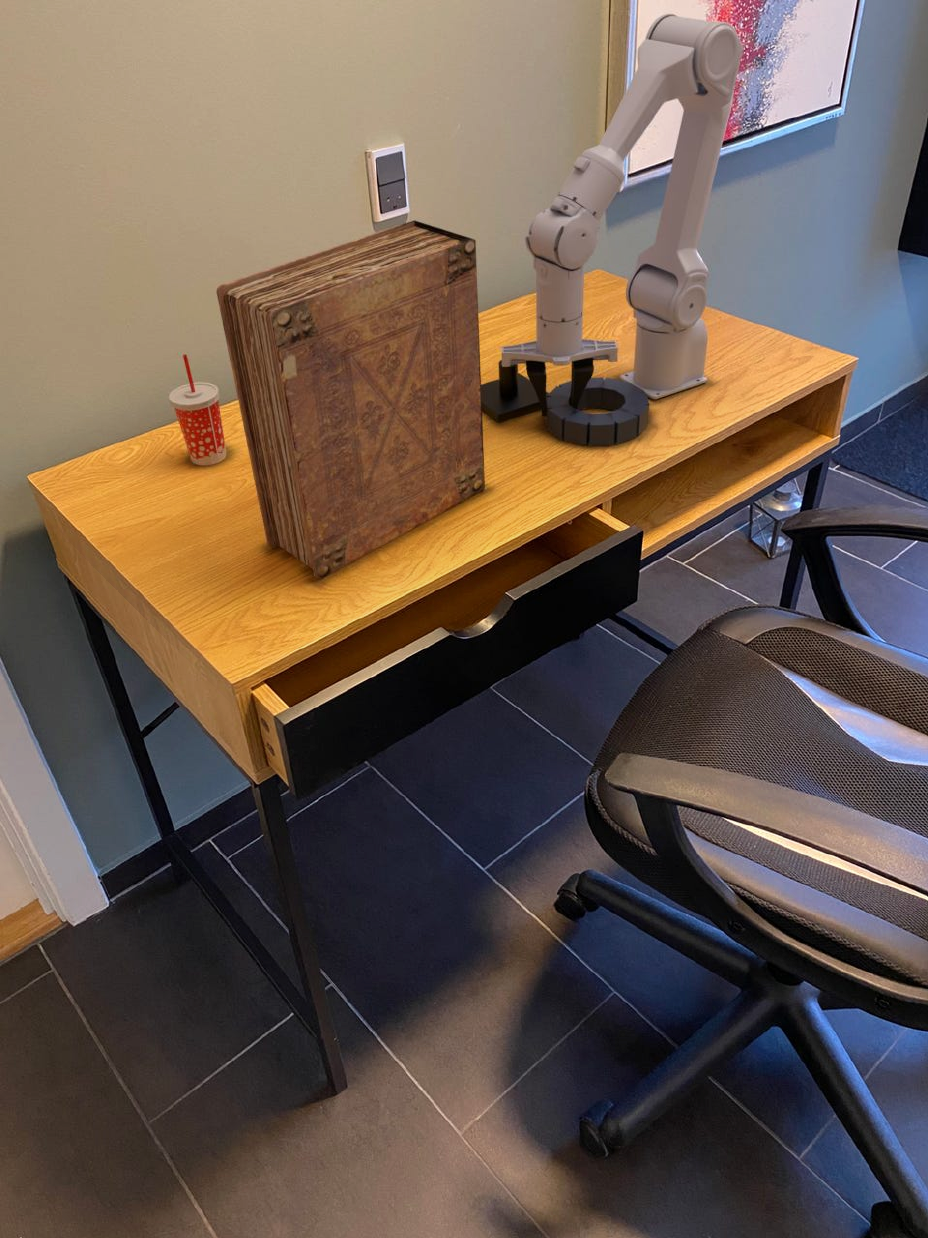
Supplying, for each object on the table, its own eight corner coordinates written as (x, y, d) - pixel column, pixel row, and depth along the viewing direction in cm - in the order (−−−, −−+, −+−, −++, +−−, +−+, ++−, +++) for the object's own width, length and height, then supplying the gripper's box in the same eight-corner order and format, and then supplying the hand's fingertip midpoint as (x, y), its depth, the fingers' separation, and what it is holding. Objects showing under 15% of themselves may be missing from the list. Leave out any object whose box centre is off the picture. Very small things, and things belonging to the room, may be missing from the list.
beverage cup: (215, 439, 133) (192, 340, 124) (242, 455, 129) (220, 353, 120) (176, 457, 130) (149, 356, 121) (202, 473, 126) (176, 371, 117)
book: (315, 582, 107) (267, 313, 88) (267, 547, 113) (212, 287, 94) (486, 489, 120) (476, 236, 101) (435, 462, 125) (416, 217, 106)
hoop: (607, 388, 139) (607, 368, 137) (667, 426, 130) (669, 405, 128) (527, 415, 134) (526, 394, 132) (584, 456, 125) (584, 434, 123)
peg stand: (519, 380, 142) (518, 342, 138) (554, 404, 136) (554, 365, 132) (464, 397, 139) (462, 359, 135) (498, 422, 133) (497, 383, 129)
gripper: (501, 328, 120) (504, 429, 128) (622, 323, 119) (617, 425, 128) (499, 305, 125) (502, 404, 134) (615, 300, 125) (610, 399, 133)
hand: (558, 412), depth 131 cm, fingers closed on hoop, 3 cm apart
